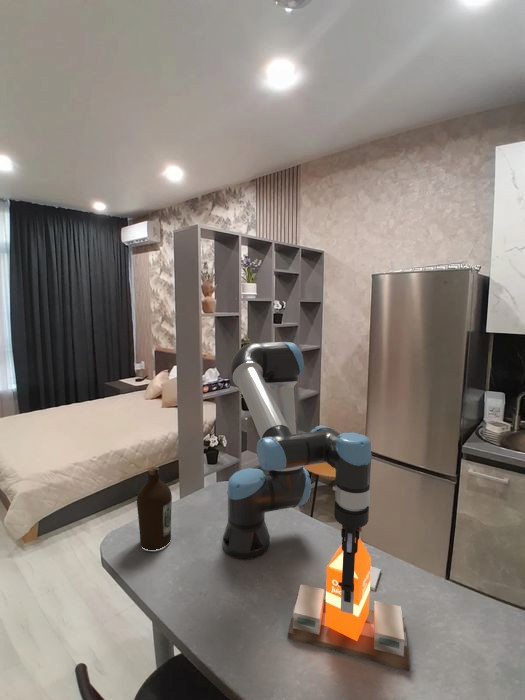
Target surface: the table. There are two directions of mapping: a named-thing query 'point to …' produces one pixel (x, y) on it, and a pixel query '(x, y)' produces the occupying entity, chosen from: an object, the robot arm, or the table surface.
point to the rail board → (373, 643)
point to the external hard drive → (374, 577)
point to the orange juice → (354, 622)
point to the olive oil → (154, 512)
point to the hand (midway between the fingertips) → (348, 593)
